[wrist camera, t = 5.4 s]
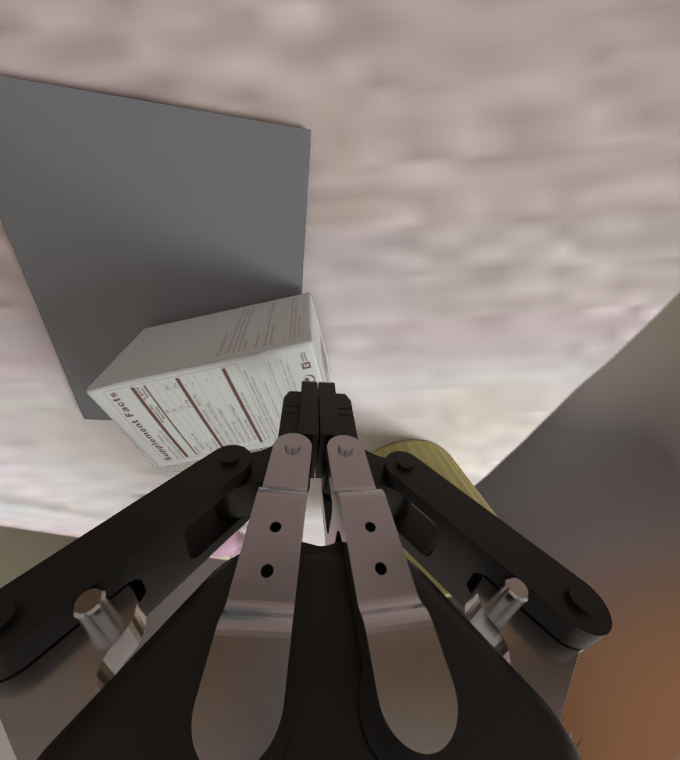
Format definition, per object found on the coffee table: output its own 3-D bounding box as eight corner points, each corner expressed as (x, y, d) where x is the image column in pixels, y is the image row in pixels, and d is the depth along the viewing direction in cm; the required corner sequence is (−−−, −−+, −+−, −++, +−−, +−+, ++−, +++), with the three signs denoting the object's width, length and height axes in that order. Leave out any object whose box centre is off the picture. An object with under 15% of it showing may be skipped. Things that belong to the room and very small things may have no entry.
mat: (-51, 68, 15) (-64, 64, 14) (310, 131, 17) (310, 130, 17) (88, 414, 26) (84, 418, 26) (294, 423, 29) (293, 428, 28)
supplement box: (332, 371, 25) (190, 400, 26) (311, 288, 21) (140, 325, 21) (339, 437, 20) (156, 472, 20) (313, 341, 15) (77, 390, 16)
